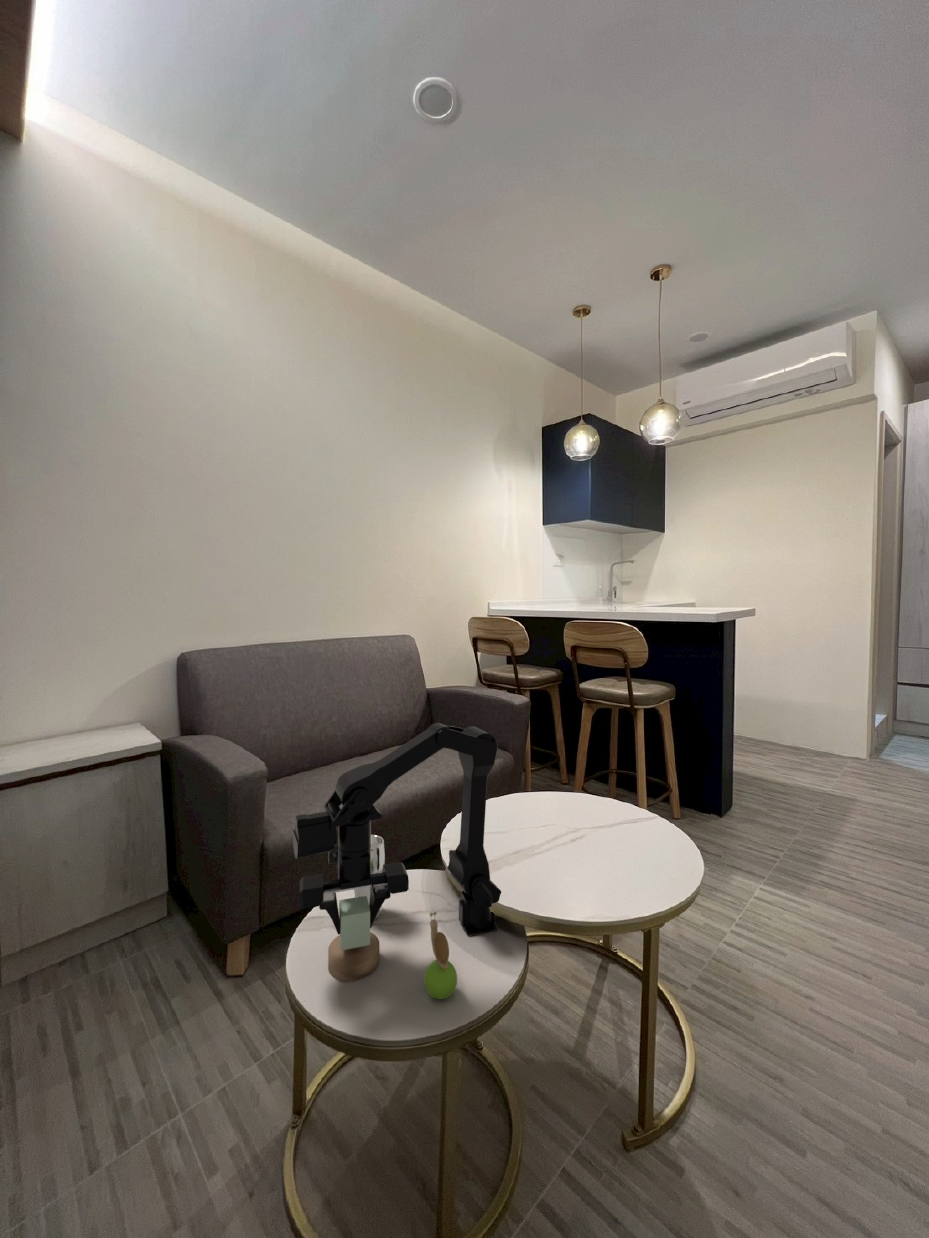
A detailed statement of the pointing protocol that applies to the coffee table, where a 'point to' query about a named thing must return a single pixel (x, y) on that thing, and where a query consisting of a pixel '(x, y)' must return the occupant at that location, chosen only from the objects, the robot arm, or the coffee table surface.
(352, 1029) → the coffee table surface
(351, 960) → the walnut base
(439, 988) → the snail figurine
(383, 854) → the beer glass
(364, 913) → the sage block
